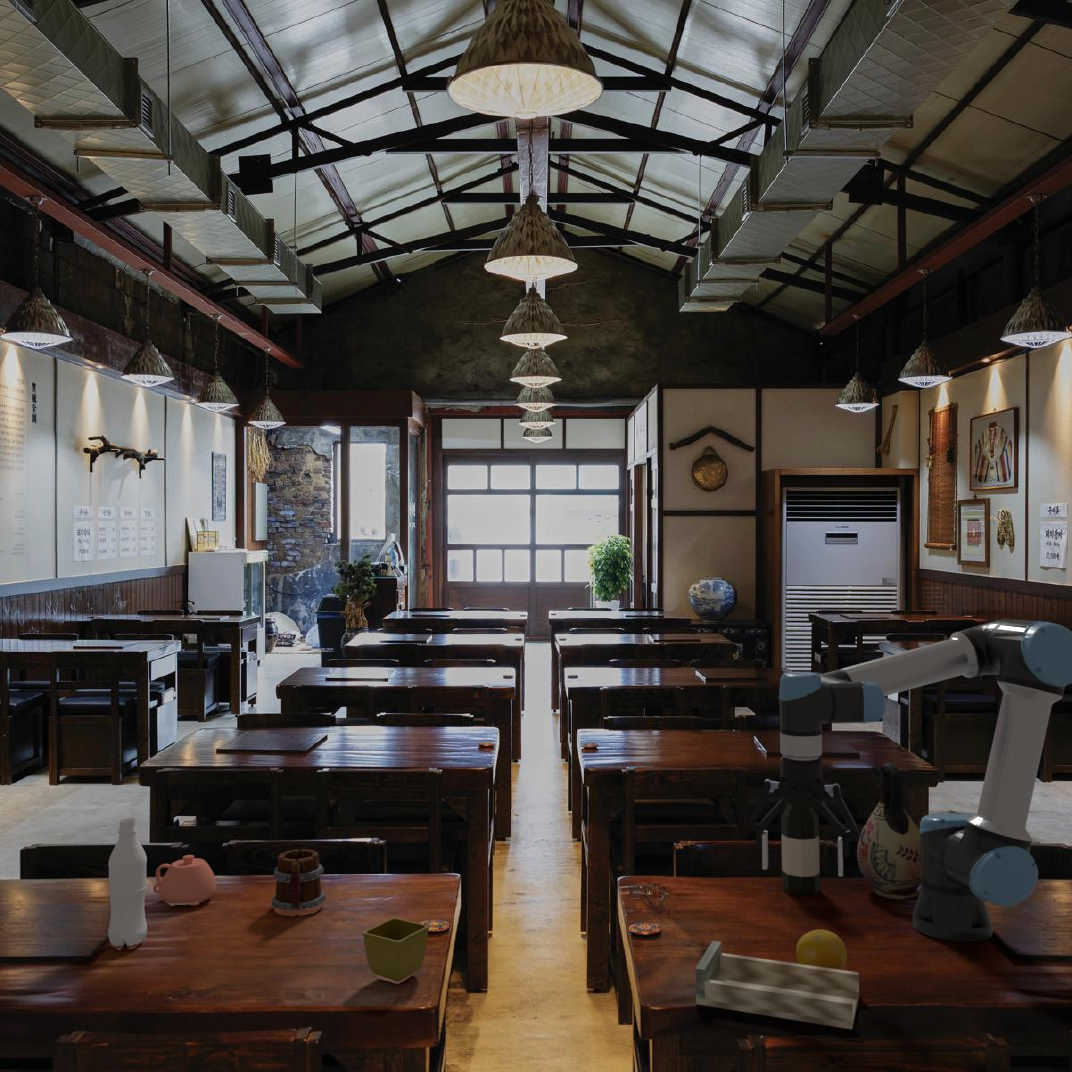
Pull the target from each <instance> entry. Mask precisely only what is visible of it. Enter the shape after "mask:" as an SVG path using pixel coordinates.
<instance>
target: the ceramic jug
mask: <svg viewBox="0 0 1072 1072" xmlns="http://www.w3.org/2000/svg"><path fill="white" fill-rule="evenodd" d="M899 769H900V768H898V766H896V764H895V763H891V762H886V763H884V764H882V765H881V768H880V767H879V766H878V765H874V766H873V767H872V768H871V774H872V777H874V778H875V779H876V780H878V781H879V784H880V788H881V791H880V799H879V802H878V803H877V805H876V807H875V808H874V810H873V811H872V812H871V813H870V816H869V818H868V819H867V821H866V823H865V824H864V826H863V828H862V830H861V832H860V834H859V840H858V842H857V843H858V844H857V850H856V856H857V857H856V859H857V864H858V867H859V871H860V873H861V874H862V875H863V876H864V878H865V879H866V881H868V883H869V885H870V886H871V888H872V889H873V892H874V893H875V894H876V895H878V896H880V897H883V898H887V899H893V900H899V901H901V900H907V899H910V898H914V897H916V896H918V889H919V887H921V860H920V835H919V832H920V828H918V827H917V825H916V824H915V822H914V820H913V819H912V817H911V816H910V815H909V814H908V812H907V810H906V809H905V808H904V807H903V781H902V775H901V771H900V770H899Z"/></svg>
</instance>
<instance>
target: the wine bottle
mask: <svg viewBox="0 0 1072 1072" xmlns="http://www.w3.org/2000/svg"><path fill="white" fill-rule="evenodd" d="M783 810H784V811H783V812H782V814H781V815H780V816H781V817H780V819H781V820H780V824H781V827H780V828H781V885H782V886H781V887H782V890H783V891H784V892H786V893H788V894H790V895H795V896H796V895H797V896H803V897H804V896H814V895H817V894H818V893H819V892H820V891H821V886H820V885H821V882H820V876H821V875H820V825H819V824H820V821H819V820H820V819H819V814H817V813H816V810H815V808H814V806H813V807H810V808H805V807H802V806H800V807H793V806H791V805H790V804H789V803H788V804H787V805H786V807H785V809H783Z"/></svg>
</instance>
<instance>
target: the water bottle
mask: <svg viewBox="0 0 1072 1072" xmlns="http://www.w3.org/2000/svg"><path fill="white" fill-rule="evenodd" d="M136 821H137V819H136V818H134V817H128V818H122V819H120V820H119V828H118V832H117V834H119V836H118V839H117V842H116V843H115V846H114V848H113V849H112V852H111V854H110V856H109V859H108V865H107V866H108V893H109V900H110V918H109V919H110V920H109V926H108V930H107V936H108V940H109V944H110V945H111V946H112V945H113V946H123V945H124V944H125V943H126V944H125V945H126V946H127V947H128V946H132V945H134V944H138V943H140V942H141V941H142V940H144V939H145V940H146V937H147V933H148V925H147V920H146V919H147V918H146V913H145V912H146V911H145V898H146V897H145V895H146V891H147V862H148V859H147V858H148V857H147V854H146V851H145V850H144V848H143V846H142V844H141V843H140V841H139V839H138V836H137V832H138V828H137V824H136V823H137V822H136ZM145 940H144V941H145ZM125 945H124V946H125Z"/></svg>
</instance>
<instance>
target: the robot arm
mask: <svg viewBox="0 0 1072 1072" xmlns="http://www.w3.org/2000/svg"><path fill="white" fill-rule="evenodd" d="M987 675H996V676H997V680H996V683H997V685H998V687H999V688H1000V690H1001V691H1002V697H1001V703H1000V706H999V707H1000V708H999V713H998V716H997V719H996V720H997V721H996V726H995V730H994V734H993V740H992V743H991V748H990V752H989V753H990V754H989V758H988V761H987V766H986V771H985V775H984V780H983V784H982V789H981V794H980V798H979V803H978V807H977V808H978V809H977V812H976V813H975V814H973V815H972V814H965V813H962V814H961V813H934V814H933V813H932V814H926V815H925V816H923V817H922V818H921V819H920V822H919V831H920V832H919V835H920V860H921V885H920V890H919V891H918V892H919V893H918V894H917V899H916V902H915V905H914V908H913V911H912V926H913V928H914V929H915V930H917V931H918V932H919V933H921V934H924V935H926V936H928V937H931V938H935V939H938V940H943V941H949V942H956V943H978V942H982V941H986V940H989V939H991V938H992V936H993V935H994V934H993V933H994V929H993V926H994V925H993V923H994V922H993V920H992V917H991V914H990V912H989V908H988V905H987V902H988V903H989V904H992V905H995V906H997V907H1011V906H1015V905H1018V904H1019V903H1022V901H1025V900H1026V899H1028V898H1029V896H1030V895H1031V894H1032V893H1033V891H1034V890H1035V888H1036V887H1037V883H1038V878H1039V870H1038V865H1037V864H1036V862H1035V859H1034V858H1033V855H1031V854H1030V851H1031V846H1032V841H1033V838H1032V836H1031V835H1030V833H1029V832H1028V830H1027V822H1028V819H1029V812H1030V807H1031V803H1032V798H1033V794H1034V789H1035V786H1036V785H1035V784H1036V781H1037V776H1038V769H1039V766H1040V763H1041V762H1040V761H1041V756H1042V752H1043V748H1044V744H1045V743H1044V742H1045V739H1046V734H1047V728H1048V725H1049V720H1050V714H1051V710H1052V706H1053V705H1054V704H1055V703H1057V702H1059V701H1060V700H1062V699H1063V696H1064V693H1065V688H1066V686H1068V685H1071V684H1072V631H1071V630H1070V629H1069V628H1067V627H1065V626H1064V625H1061V624H1059V623H1058V624H1057V623H1054V622H1053V623H1052V622H1049V621H1043V620H1030V619H1029V620H1028V619H1027V620H1026V619H1016V618H1003V619H999V620H993V621H990V622H986V623H983V624H979V625H977V626H976V625H975V626H973V627H969V628H966V629H963V630H960V631H956V632H954V633H951V634H950V636H949V638H948V639H946V640H942V641H938V642H934V643H930V644H927V645H924V646H920V647H917V648H913V649H909V650H906V651H902V652H897V653H894V654H891V655H890V654H889V655H887V656H883V657H881V658H880V657H879V658H876V659H873V660H869V661H864V662H861V663H857V664H854V665H850V666H847V667H843V668H840V669H836V670H832V671H829V672H824V673H821V672H805V671H804V672H802V671H793V672H791V671H789V672H785V673H783V674H782V675H781V677H780V681H779V682H780V683H779V695H778V699H779V718H780V719H779V721H780V722H779V723H780V724H779V725H780V732H779V742H780V743H779V744H780V745H779V748H780V751H779V752H780V753H781V755H782V756H781V757H780V780H779V781H775V780H771V779H770V778H766V779H765V780H764V782H763V785H762V792H761V795H760V797H759V799H758V800H757V803H756V805H755V807H754V809H753V810H752V812H751V814H750V817H749V819H748V821H747V823H746V825H745V827H746V829H748V830H751V831H754V832H755V837H756V838H755V840H756V843H755V844H756V845H755V846H756V847H755V848H756V850H757V851H762V853H761V854H762V856H761V858H762V859H761V860H762V861H761V863H762V866H761V867H762V870H768V867H769V843H768V842H769V840H768V839H769V836H768V835H769V833H768V830H766V828H768V826H769V825H770V824H771V823H772V822H773V821H774V819H776V817H777V816H778V815H779V814H780V813H781V812H782V811H783V810H785V809H786V807H787V805H788V804H790V805H791V806H793V807H800V806H802V807H805V808H810V807H813V808H815V809H817V811H818V812H820V814H821V815H822V816H823V817H824V818H825V820H826V821H827V822H828V823H829V824H830V826H831V827H832V828H833V829H834V831H835V832H836V833H837V834H838V835H839V836H838V839H837V864H838V865H837V866H838V867H837V869H838V870H837V873H838V875H837V876H838V877H843V876H844V858H849V856H850V840H851V839H854V838H859V837H860V829H859V827H858V826H857V824H856V822H855V819H854V817H853V816H852V814H851V812H850V809H849V808H848V806H847V804H846V802H845V800H844V798H843V796H842V792H841V785H840V784H839V783H838V782H834V783H833V784H824V782H823V759H821V756H822V755H823V742H822V741H823V740H822V739H823V737H822V734H823V730H822V727H823V725H822V724H825V725H827V724H851V723H852V724H853V723H854V724H855V723H859V724H860V723H862V724H866V723H872V722H875V723H876V722H878V721H880V720H881V719H882V718H883V717H884V714H885V712H886V711H885V710H886V699H885V698H886V696H890V695H894V694H897V693H901V692H904V691H908V690H909V691H910V690H912V689H916V688H920V687H923V686H926V685H927V686H928V685H930V684H934V683H937V682H942V681H945V680H949V679H953V678H957V677H960V676H963V677H965V678H967V679H971V678H974V677H978V676H987ZM776 789H778V791H779V792H780V794H781V795H782V797H781V798H780V800H779V801H778V802H777V803H776V804H775V806H773V808H771V810H770V811H769V812H768V813H767V814H766V815H765V817H764V818H762V820H761V821H760V822H759V823H758V822H756V821H757V819H758V817H759V816H760V813H761V811H762V809H763V808H764V806H765V804H766V802H767V800H768V798H769V796H770V794H773V793H774V791H775V790H776ZM825 792H827V793H828V795H829V797H831V798H833V800H834V802H835V804H836V806H837V808H838V811H839V812H840V814H841V816H842V818H843V820H844V822H845V825H846V826H847V828H848V830H847V828H846V827H845V826H844V825H843V823H841V821H840V820H839V819H838V818H837V816H836V815H835V814H834V813H833V812H832V811H831V809H830V808H829V807H828V806H827V804H826V803H825V800H824V799H822V796H823V795H824V794H825ZM784 808H785V809H784ZM992 934H993V935H992Z"/></svg>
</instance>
